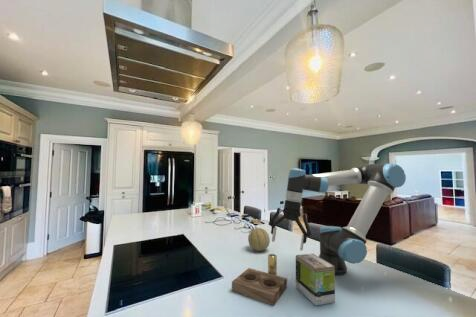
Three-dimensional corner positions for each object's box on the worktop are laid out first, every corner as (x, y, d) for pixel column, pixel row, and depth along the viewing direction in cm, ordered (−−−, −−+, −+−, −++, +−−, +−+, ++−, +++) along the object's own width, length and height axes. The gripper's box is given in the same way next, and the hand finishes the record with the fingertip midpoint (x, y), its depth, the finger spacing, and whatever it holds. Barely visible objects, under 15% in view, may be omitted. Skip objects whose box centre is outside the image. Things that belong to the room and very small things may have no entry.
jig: (248, 275, 110) (248, 267, 110) (286, 287, 99) (286, 278, 100) (231, 290, 96) (231, 281, 96) (273, 305, 86) (273, 295, 86)
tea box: (336, 302, 88) (335, 265, 89) (315, 306, 86) (314, 268, 86) (313, 283, 103) (313, 252, 104) (294, 287, 100) (294, 254, 101)
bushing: (269, 272, 114) (270, 253, 114) (277, 274, 111) (277, 254, 112) (266, 276, 110) (266, 255, 110) (274, 278, 108) (274, 257, 108)
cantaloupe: (267, 255, 136) (267, 231, 137) (245, 252, 141) (245, 229, 142) (271, 248, 150) (271, 226, 151) (251, 245, 155) (251, 224, 156)
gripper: (266, 195, 106) (259, 239, 104) (319, 206, 94) (313, 255, 93) (271, 195, 113) (265, 236, 111) (321, 205, 101) (315, 251, 99)
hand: (286, 245), depth 102 cm, fingers open, 13 cm apart
